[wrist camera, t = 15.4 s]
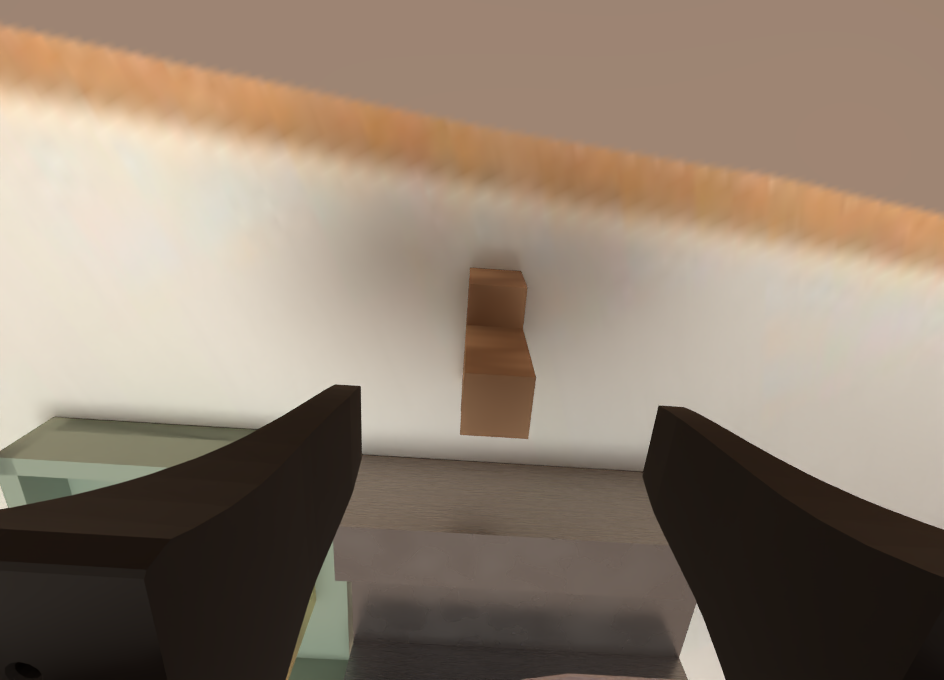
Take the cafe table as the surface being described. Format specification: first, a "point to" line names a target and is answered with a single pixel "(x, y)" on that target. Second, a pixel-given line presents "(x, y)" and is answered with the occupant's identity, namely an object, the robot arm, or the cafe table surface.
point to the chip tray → (145, 452)
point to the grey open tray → (507, 573)
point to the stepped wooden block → (496, 357)
